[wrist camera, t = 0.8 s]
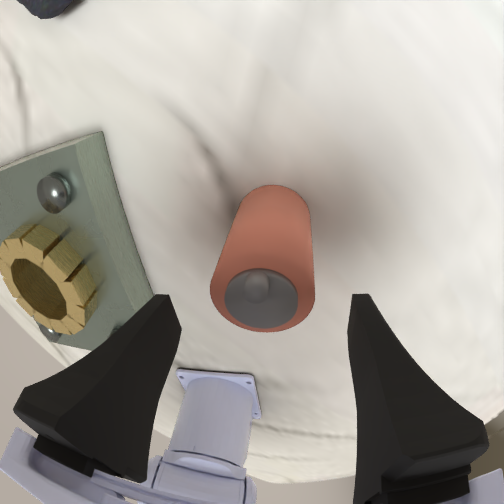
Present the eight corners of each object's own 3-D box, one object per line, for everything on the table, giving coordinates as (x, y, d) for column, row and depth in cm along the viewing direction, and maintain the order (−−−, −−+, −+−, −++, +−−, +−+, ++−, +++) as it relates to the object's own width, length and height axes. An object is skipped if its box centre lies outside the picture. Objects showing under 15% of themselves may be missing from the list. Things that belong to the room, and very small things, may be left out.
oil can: (310, 248, 19) (314, 352, 12) (242, 250, 20) (215, 350, 13) (308, 183, 17) (316, 271, 10) (232, 187, 18) (191, 272, 11)
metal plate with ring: (170, 335, 26) (152, 380, 22) (61, 322, 28) (40, 354, 24) (102, 131, 16) (51, 155, 12) (-8, 171, 19) (-46, 196, 15)
